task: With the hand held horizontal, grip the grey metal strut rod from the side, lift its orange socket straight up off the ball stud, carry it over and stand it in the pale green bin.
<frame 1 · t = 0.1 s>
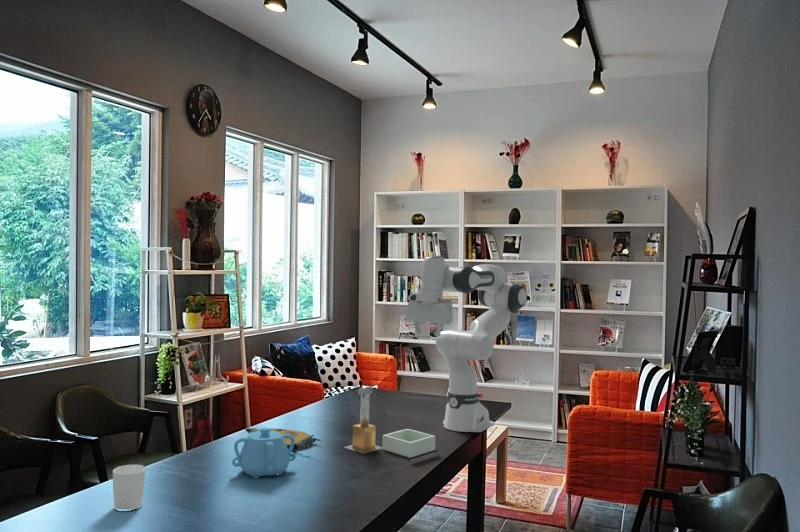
hand: (427, 334, 239), 39 cm above the table, tool pointing down, fingers open, 8 cm apart
decorative pot: (264, 472, 197), on the table
bin: (408, 452, 221), on the table
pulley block: (278, 445, 227), on the table
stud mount: (363, 450, 222), on the table
strut: (363, 447, 222), point 1 cm above the table, touching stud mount
white cup: (128, 508, 167), on the table
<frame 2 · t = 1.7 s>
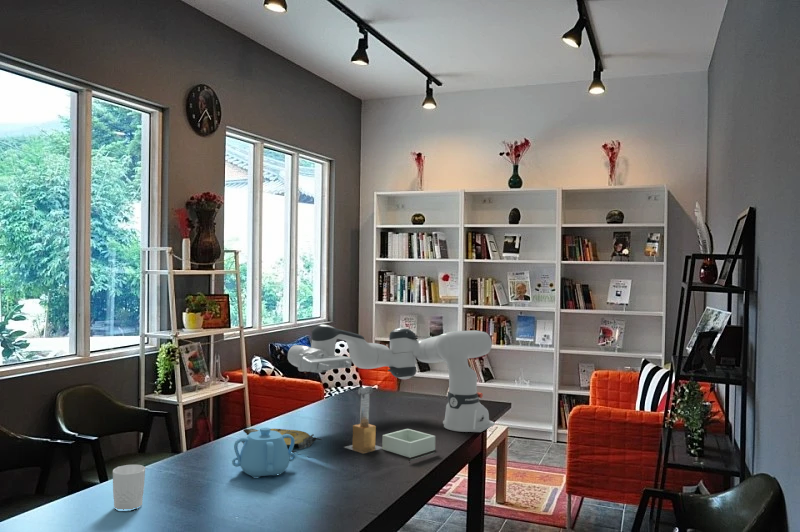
hand: (339, 366, 233), 27 cm above the table, tool horizontal, fingers open, 8 cm apart
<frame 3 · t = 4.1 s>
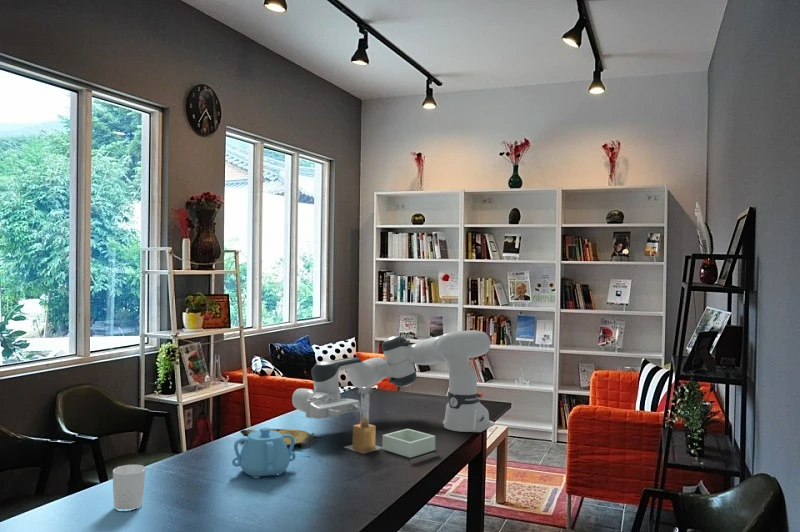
hand: (349, 412, 226), 12 cm above the table, tool horizontal, fingers open, 8 cm apart
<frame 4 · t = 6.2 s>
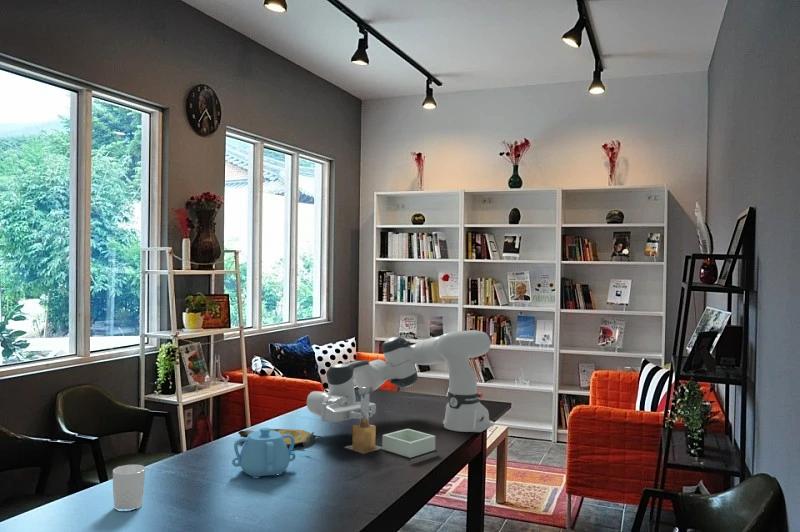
hand: (366, 415, 221), 13 cm above the table, tool horizontal, fingers closed on strut, 3 cm apart
strut: (363, 447, 222), point 1 cm above the table, touching gripper, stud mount
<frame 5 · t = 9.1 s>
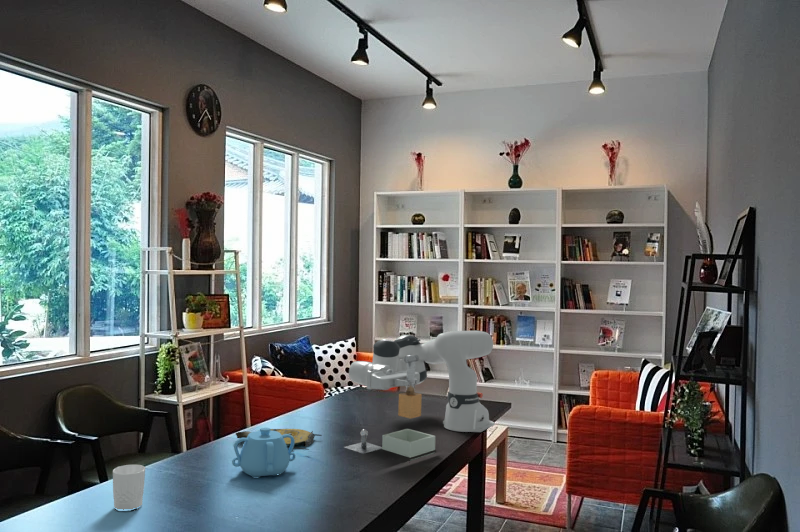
hand: (412, 382, 220), 24 cm above the table, tool horizontal, fingers closed on strut, 3 cm apart
strut: (409, 415, 221), point 13 cm above the table, touching gripper
when the fingers open (14 cm above the table, at t = 12.0 s): strut drops 1 cm, resting on bin.
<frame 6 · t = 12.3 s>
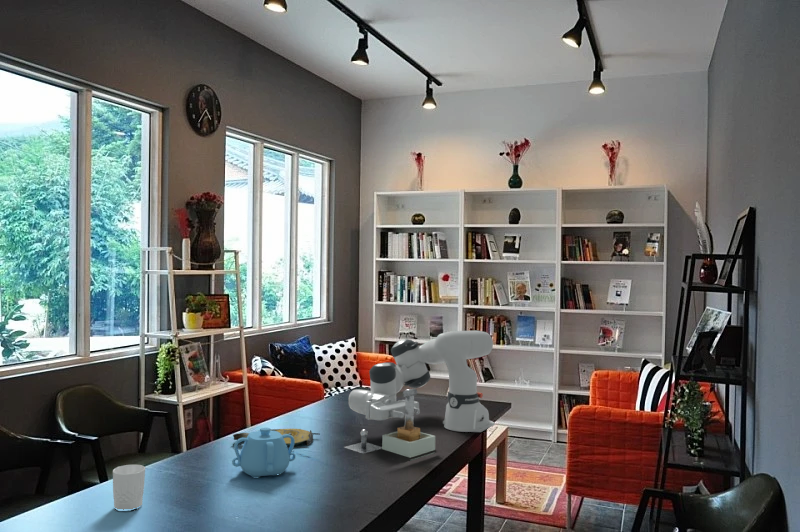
hand: (411, 413, 220), 14 cm above the table, tool horizontal, fingers open, 6 cm apart
strut: (408, 449, 221), point 1 cm above the table, touching bin
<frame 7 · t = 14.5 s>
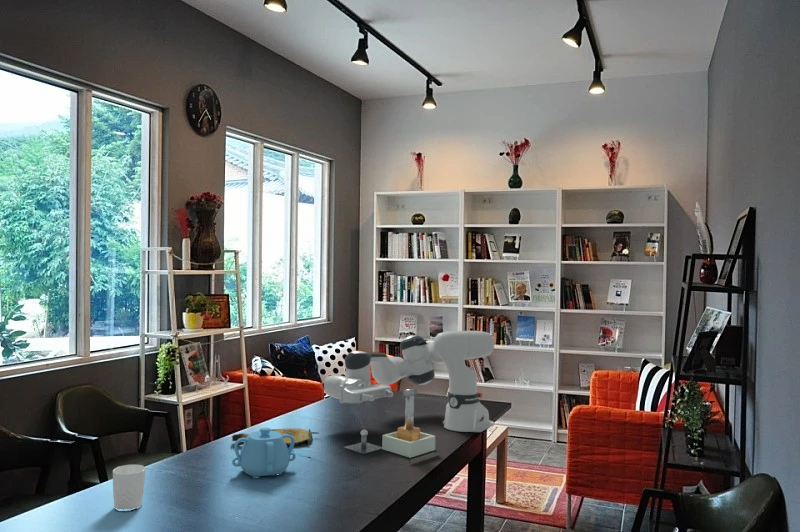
hand: (382, 396, 230), 17 cm above the table, tool horizontal, fingers open, 8 cm apart
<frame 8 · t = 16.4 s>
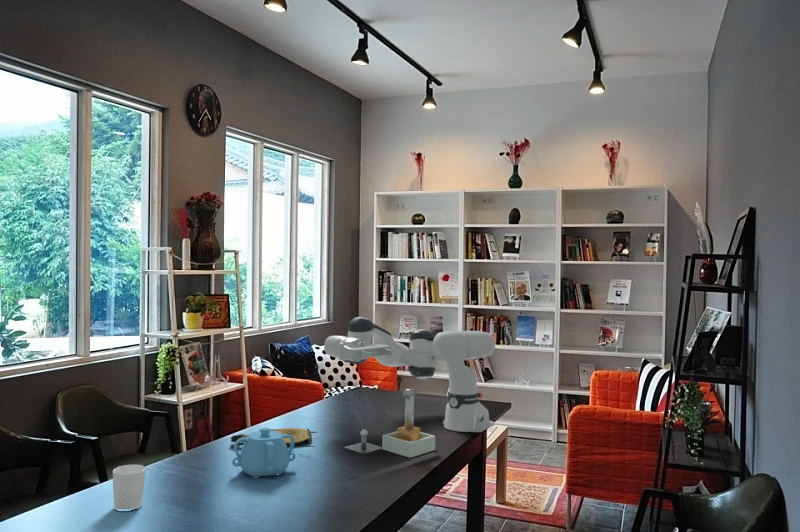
hand: (381, 354, 235), 32 cm above the table, tool horizontal, fingers open, 8 cm apart
at the end: strut inside the target area on the bin (0.1 cm from its centre), point 1.0 cm above the bin's base; strut tilted 0°; the gripper is holding nothing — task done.
